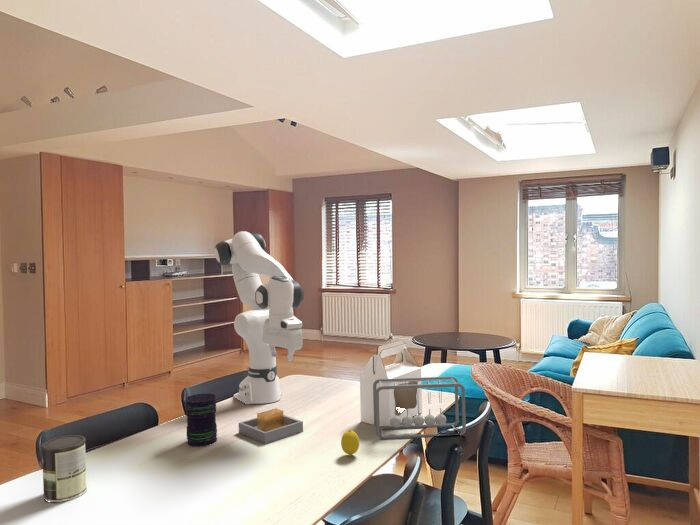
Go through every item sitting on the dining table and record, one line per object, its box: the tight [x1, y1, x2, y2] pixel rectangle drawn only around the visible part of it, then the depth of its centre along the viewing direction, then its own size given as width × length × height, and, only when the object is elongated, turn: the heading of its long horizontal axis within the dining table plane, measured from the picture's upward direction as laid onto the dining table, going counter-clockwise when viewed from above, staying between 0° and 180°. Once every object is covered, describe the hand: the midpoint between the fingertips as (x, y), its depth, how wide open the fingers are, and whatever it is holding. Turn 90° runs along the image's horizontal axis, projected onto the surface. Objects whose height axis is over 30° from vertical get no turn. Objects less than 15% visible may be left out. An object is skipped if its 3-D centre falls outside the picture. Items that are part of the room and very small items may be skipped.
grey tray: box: [238, 414, 304, 445], centre depth 182 cm, size 16×16×4 cm
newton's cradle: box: [373, 376, 467, 440], centre depth 177 cm, size 30×10×18 cm, turn 92°
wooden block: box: [256, 407, 284, 432], centre depth 182 cm, size 4×8×6 cm, turn 134°
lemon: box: [340, 429, 360, 457], centre depth 159 cm, size 6×6×8 cm
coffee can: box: [40, 434, 88, 503], centre depth 138 cm, size 10×10×14 cm
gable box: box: [359, 339, 423, 426], centre depth 195 cm, size 22×13×28 cm, turn 141°
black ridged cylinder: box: [185, 393, 218, 448], centre depth 174 cm, size 10×10×15 cm
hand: (281, 358), depth 188 cm, fingers open, 8 cm apart
